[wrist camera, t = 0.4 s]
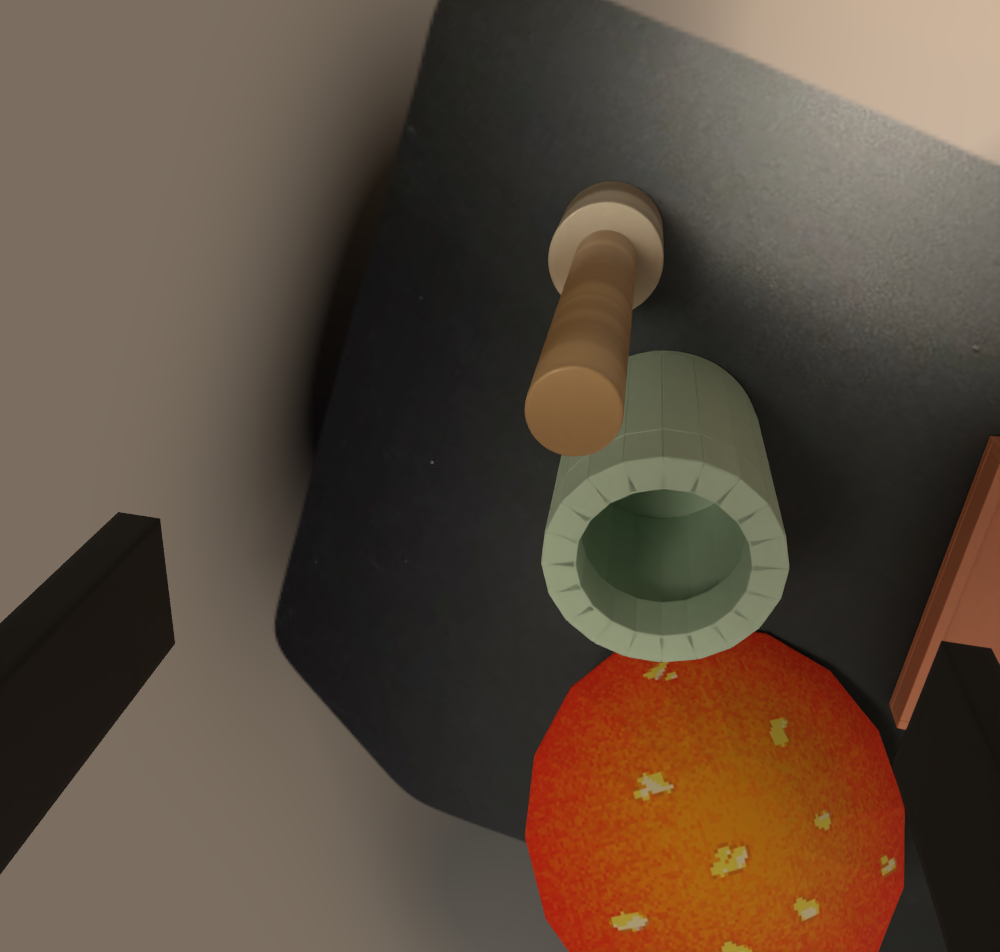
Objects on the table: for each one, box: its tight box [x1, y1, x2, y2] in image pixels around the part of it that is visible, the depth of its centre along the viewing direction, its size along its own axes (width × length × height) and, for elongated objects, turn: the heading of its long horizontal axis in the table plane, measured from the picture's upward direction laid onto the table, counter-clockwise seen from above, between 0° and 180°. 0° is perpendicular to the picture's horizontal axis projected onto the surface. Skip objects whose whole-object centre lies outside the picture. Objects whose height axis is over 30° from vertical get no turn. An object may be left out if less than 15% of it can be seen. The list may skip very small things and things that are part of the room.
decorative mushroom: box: [525, 632, 905, 952], centre depth 47 cm, size 15×21×15 cm
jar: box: [541, 350, 789, 662], centre depth 41 cm, size 10×10×12 cm
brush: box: [525, 181, 664, 457], centre depth 33 cm, size 5×5×21 cm
